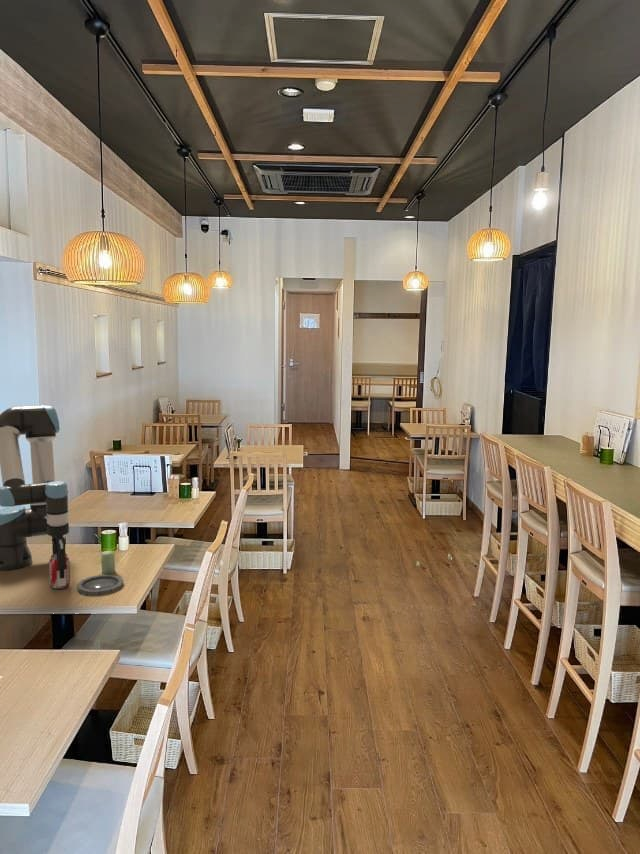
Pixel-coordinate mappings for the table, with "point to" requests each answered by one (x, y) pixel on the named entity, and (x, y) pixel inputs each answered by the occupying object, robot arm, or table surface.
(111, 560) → the tea canister
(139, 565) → the table surface
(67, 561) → the soda can
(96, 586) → the saucer
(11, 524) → the robot arm
